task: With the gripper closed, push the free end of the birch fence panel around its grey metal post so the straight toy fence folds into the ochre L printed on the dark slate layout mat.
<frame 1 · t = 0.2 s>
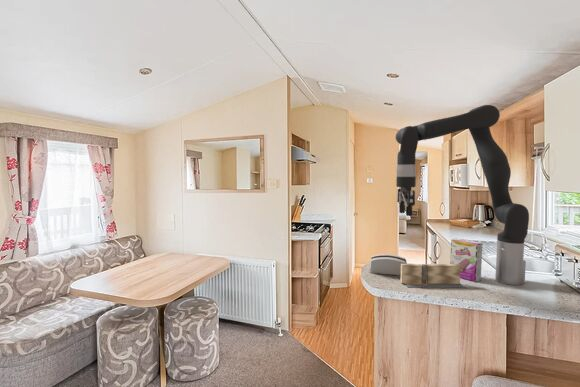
hand: (405, 214, 129), 29 cm above the counter, fingers open, 8 cm apart
candy bar box: (464, 278, 134), on the counter
fence fixed: (423, 283, 127), resting on layout mat
layout mat: (426, 278, 133), on the counter
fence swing: (443, 273, 126), point 4 cm above the counter, hinge at 0.0°
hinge: (388, 273, 139), on the counter, touching layout mat
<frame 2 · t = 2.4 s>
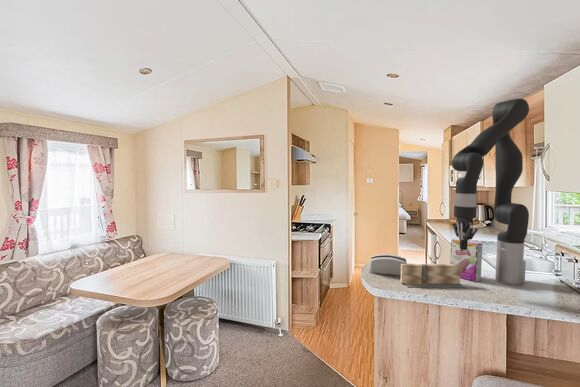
hand: (463, 249, 119), 16 cm above the counter, fingers closed
nothing on the counter moved.
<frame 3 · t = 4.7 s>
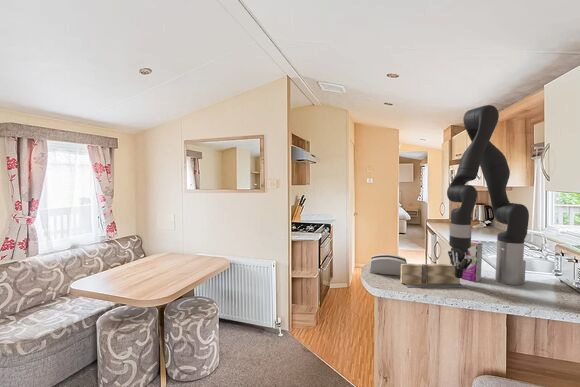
hand: (458, 277, 123), 4 cm above the counter, fingers closed
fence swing: (443, 273, 126), point 4 cm above the counter, hinge at 0.5°, touching gripper
everything else where it was.
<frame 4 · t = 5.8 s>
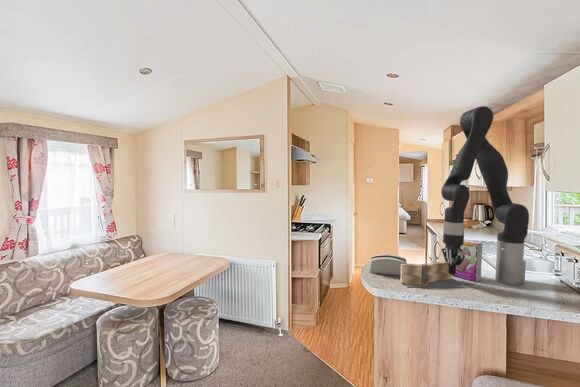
hand: (451, 273, 127), 4 cm above the counter, fingers closed
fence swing: (438, 271, 129), point 4 cm above the counter, hinge at 22.6°, touching gripper
everything else where it was.
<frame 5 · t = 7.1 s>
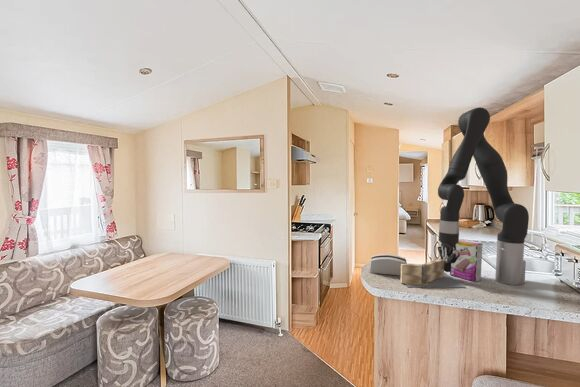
hand: (447, 271, 130), 4 cm above the counter, fingers closed
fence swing: (434, 270, 131), point 4 cm above the counter, hinge at 36.9°, touching gripper
everything else where it was.
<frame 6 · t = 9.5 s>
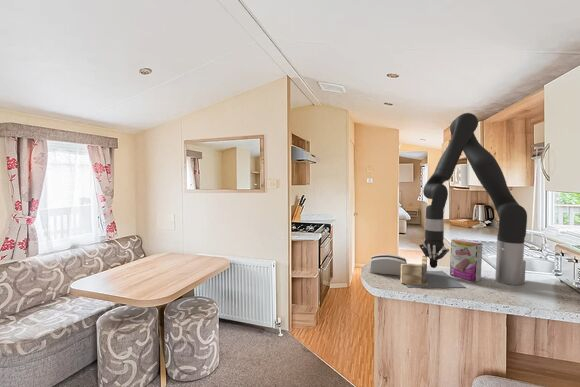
hand: (433, 267, 136), 4 cm above the counter, fingers closed
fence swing: (424, 268, 134), point 4 cm above the counter, hinge at 67.7°, touching gripper
everything else where it was.
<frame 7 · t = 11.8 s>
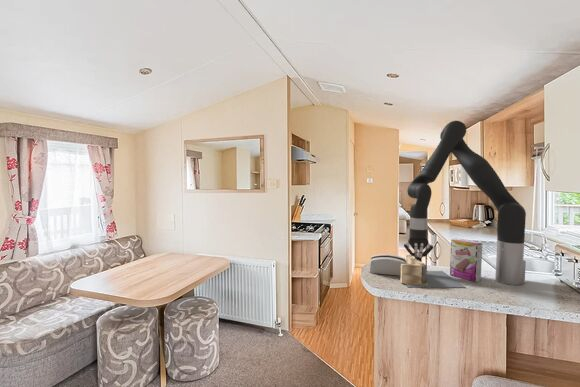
hand: (417, 265, 139), 4 cm above the counter, fingers closed
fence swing: (414, 267, 134), point 4 cm above the counter, hinge at 97.1°, touching gripper, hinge
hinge: (388, 274, 139), on the counter, touching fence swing
everything else where it was.
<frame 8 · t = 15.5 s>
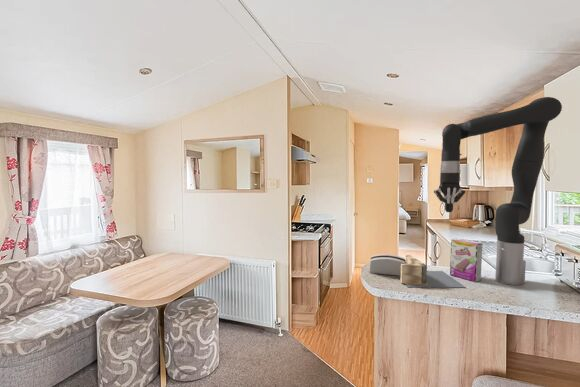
hand: (448, 211, 132), 29 cm above the counter, fingers closed
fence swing: (414, 267, 134), point 4 cm above the counter, hinge at 97.5°
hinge: (388, 274, 139), on the counter, touching layout mat
everything else where it was.
at the end: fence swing at +98° (first picture: +0°); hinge moved 0.3 cm from its start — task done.
